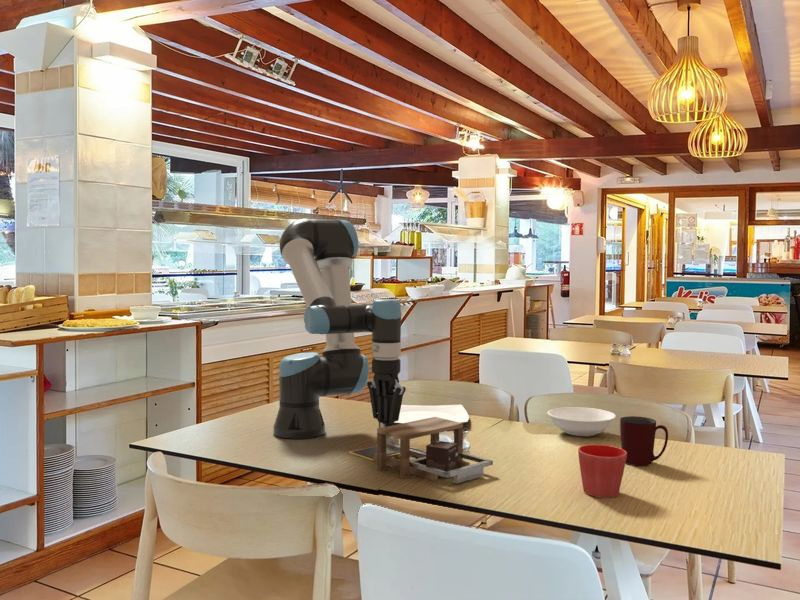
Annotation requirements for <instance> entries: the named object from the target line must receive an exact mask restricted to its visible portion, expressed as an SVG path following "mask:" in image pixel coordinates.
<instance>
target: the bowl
mask: <svg viewBox="0 0 800 600" xmlns="http://www.w3.org/2000/svg"><path fill="white" fill-rule="evenodd" d="M547 415H548V416H549V417H550V419H551V422H552V424H553V425H554V426H556V427H557V428H558V429H559V430H561V431H563V432H564V433H566V434H567V435H570V436H576V437H577V436H578V437H593V436H596V435H598V434H601V433H602V432H604V431H605V430H606V429H609V428H610V427H611V425H612V423H613V421H614V420H615V419H616V417H617V416H616V414H615V413H614V412H612V411H608V410H605V409H600V408H593V407H585V406H584V407H583V406H563V407H556V408H555V407H554V408H552V409H549V410H548V411H547Z"/></svg>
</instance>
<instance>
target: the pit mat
mask: <svg viewBox="0 0 800 600" xmlns="http://www.w3.org/2000/svg"><path fill="white" fill-rule="evenodd" d="M347 453H348V454H350V455H353V456H357V457H360V458H363V459H366V460H369V461H373V454H374V453H377V445H374V446H370V447H366V448H361V449H356V450H352V451H349V452H347ZM397 455H400V451H396V452H392V453H388V454H386V456H389V457H394V456H397ZM373 462H374V461H373Z"/></svg>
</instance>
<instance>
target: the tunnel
mask: <svg viewBox="0 0 800 600" xmlns="http://www.w3.org/2000/svg"><path fill="white" fill-rule="evenodd" d="M452 430H453V443H458V452H462V453H464V452H463V451H464V445H463V444H464V443H463V442H464V425H463V423H459V422H455V421H451V420H447V419H442V418H438V417H432V418H427V419H422V420H417V421H412V422H407V423H402V424H397V425H393V426H388V427H383V428H379V427H378V428H377V429H376V434H377V435H376V446H377V453H374V454H373V462H374V463H376V470H377V471H386V470H387V467H390V468H393V469H396V470H399V478H403V479H407V478H410V474H412V475H416V476H418V477H422V478H425V479H428V480H431V481H433V482H434V481H435V482H436V481H439V477H438V475H436V474H433V473H430V472H427V471H423V470H420V469H417V468H414V467H410V458H411V457H412V456H413V457H416V458H417V459H418V458H421V457H417V456H414V455H410V449H413V450H416V451H420V452H423V453H426V449H421V448H419V447H415V446H411V444H410V443H411V440H412V439H416V438H421V437H425V436H426V437H427V436H430V443H432V442H435V441H440V433H443V432H447V431H452ZM386 435H387V436H391V437H395V438H398V439H399V440H400V441H399V442H400V443H399V444H400V445H399V446H400V454H399V459H398V458H395V457H393V456H390V457H389V456H386ZM410 456H411V457H410ZM463 459H464V458H461V457H458V468H461V467H465V466H469V465H471V464H470V462H469V461H465V460H463Z"/></svg>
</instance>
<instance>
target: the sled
mask: <svg viewBox="0 0 800 600" xmlns="http://www.w3.org/2000/svg"><path fill="white" fill-rule="evenodd" d="M399 440H400V439H398V438H395V437H387V438H386V454H388V453H392V452H396V451H400V445H399V444H400V443H399V442H400V441H399ZM411 455H414V456H413V457H415V456H417V457H416V458H415V459H414V458H413V459H411V460H410V467H414V468H417V469H420V470H423V471H427V472H430V473H433V474H436V475H439V476H443V477H446V478H445V479H449V478H452V477H453V484H454V483H455V484H460V483H464V482H467V481H470V480H473V479H476V478H480V477H484V469H485V468H487V467H490V466H493V465H494V460H492V459H487V458H484V457H480V456H476V455H474V454H469V453H466V452H463V453H462V452H458V457H461V458H463V459H465V460H469V461H471V462H476V463H473V464H470V465H469V466H465V467H461V468H458V469H454V470H451V471H447V472H446V471H443V470H440V469H436V468H433V467H430V466H426V453H423V452H420V451H416V450H413V449H410V456H411ZM418 457H421V458H418ZM443 477H442V478H443Z"/></svg>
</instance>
